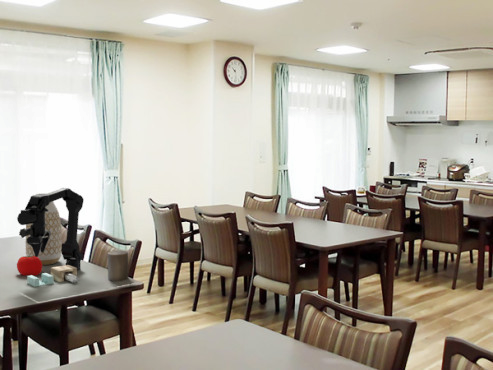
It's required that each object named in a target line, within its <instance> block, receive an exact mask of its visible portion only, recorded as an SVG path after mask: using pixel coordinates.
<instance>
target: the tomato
mask: <svg viewBox="0 0 493 370" xmlns="http://www.w3.org/2000/svg"><path fill="white" fill-rule="evenodd" d="M16 269H17V271H18V273H19V274H20V275H21V276H25V277H27V276H30V275H33V276H35V277H36V276H38V275H40V274H42V271H43V265H42V261H41V260H40V259H39V258H38V257H35V256H34V255H33V256H26V255H25V256H23V255H22V256H21V257H20V258H19V259H18V260H17V263H16Z"/></svg>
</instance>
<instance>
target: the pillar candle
mask: <svg viewBox="0 0 493 370" xmlns="http://www.w3.org/2000/svg"><path fill="white" fill-rule="evenodd" d="M107 280H108V281H111V282H123V281H127V280H129V252H128V251H127V250H112V251H111V250H110V251H107Z"/></svg>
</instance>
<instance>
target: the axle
mask: <svg viewBox="0 0 493 370" xmlns="http://www.w3.org/2000/svg"><path fill="white" fill-rule="evenodd" d="M64 279H65V280H68V282H71V283H72V284H77V283H78V282H79V279H80V278H79V276H78V275H77V276H75V275H73V274H70V273H68V272H64Z"/></svg>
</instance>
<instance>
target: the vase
mask: <svg viewBox="0 0 493 370" xmlns="http://www.w3.org/2000/svg"><path fill="white" fill-rule="evenodd" d="M44 194H47V193H36V194H35V195H44ZM34 208H35V207H34ZM45 208H46V209H48V211H47V212H45V223H46V226H45V230H49V231H50V232H51V236H50V238H49V241H48V243H47V245H46V248H45V250H44V252H41V249H40V252H39V255H38V258H39V259H40V260H41V261H42V266H49V265H54V264H56V263H58V262H59V261H60V259H61V257H62V251H61V249H62V243H63V241H62V238H63V235H62V221H61V216H60V213H59V210H58V207H57V206H56V204H55V201H52V202H50V203H49V205H48V206H46V207H45ZM31 225H32V223H31V224H26V225H25V229H28V228H30V226H31ZM28 237H30V235H28V236H25V256H33V255H34V256H35V254H34V251H33V248H32V246H31V245H29V244H28V243H27V238H28ZM47 237H48V236H47Z"/></svg>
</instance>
